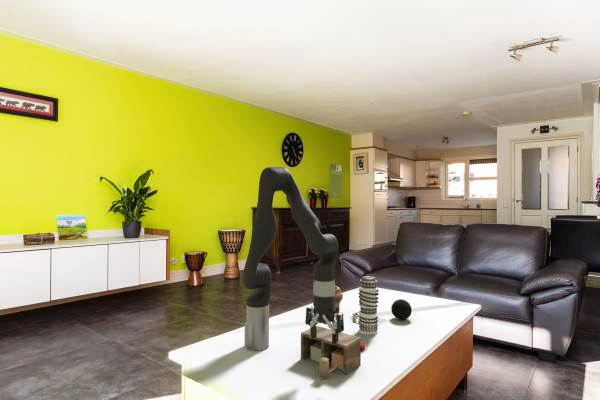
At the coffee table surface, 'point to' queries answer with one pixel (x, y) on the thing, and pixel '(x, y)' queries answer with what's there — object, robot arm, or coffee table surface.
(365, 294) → the stacked ring tower
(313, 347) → the shelf block
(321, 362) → the tethered block
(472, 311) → the coffee table surface
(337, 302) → the decorative planter
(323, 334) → the shelf
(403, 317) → the decorative ball
